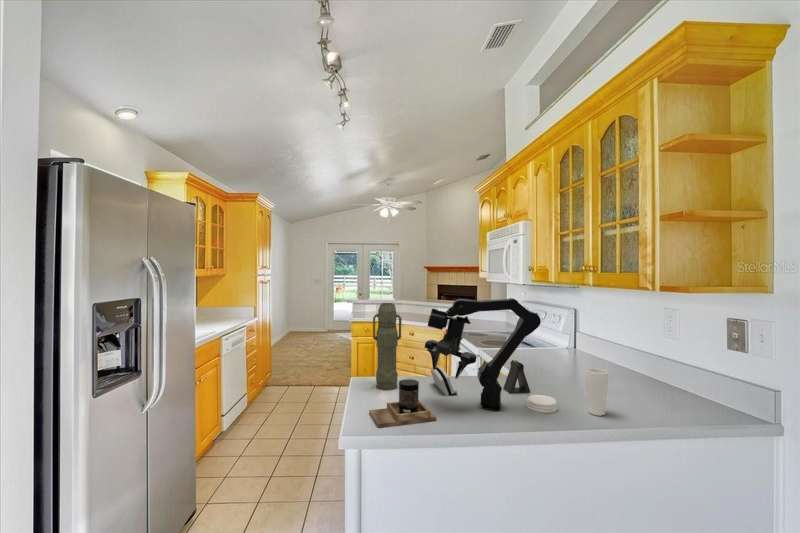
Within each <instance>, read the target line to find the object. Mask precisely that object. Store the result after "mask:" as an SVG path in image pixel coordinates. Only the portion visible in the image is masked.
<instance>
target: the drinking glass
mask: <svg viewBox="0 0 800 533" xmlns="http://www.w3.org/2000/svg"><path fill="white" fill-rule="evenodd" d="M585 376H586V391H587V392H586V393H587V394H586V395H587V410H588V413H589V414H590V415H594V416H597V417H599V416H600V417H601V416H602V415H603V416H605V415H606V406H607V397H608V396H607V395H608V386H609V372H608V371H607V370H606V369H604V368H603V369H602V368H597V367H594V368H593V367H589V368H587V369H586V375H585Z"/></svg>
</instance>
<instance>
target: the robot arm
mask: <svg viewBox="0 0 800 533" xmlns="http://www.w3.org/2000/svg"><path fill="white" fill-rule="evenodd" d="M509 310H510V311H512V312H513V313H514V314H515V315H516V316H517V317H518V319H517V321H516V325H515V328H514V330H512V333H511V334H510V336H509V337H508V338H507V340H505V342H504V343H503V345H502V346H501V347H500V349H499V350H498V351H497V353H495V355H494V356H493V358H492V359H491V360H490V361H488V362H487V361H486V360H484V361H483V362H482V364H481V366H479V367H478V368H477V370H478V371H477V375H476V376H477V379H478V381H479V384H480V385H481V387H483V388H482V390H481V393H480V405H481V406H480V408H481V409H484V410H493V411H498V412H499V411H500V410H501V408H502V406H503V405H502V391H503V390H502V389H503V387H502V386H501V384H500V382H499V381H498V379H499V377H500V374H501V370H502V368H503V367H504V365H506V362H508V360H509V359H510V358H511V356H512V355H513V354H514V353H515V351H516V350H517V349H518V347H519V346H520V345H521V343H522V342H523V340H525V338H526V337H528V336H529V335H531V334H533V333H534V332H535V331H536V330H537V329H538V328H539V327H540V325H541V323H542V321H541V317H540V316H539V315H538V314H537V313H535V312H533V311H532V310H528V309H527V308H526V307H525V306H523V305H522V304H521V303H520V302H519V301H518V300H517V299H515V298H512V297H509V298H502V299H487V300H486V299H485V300H473V299H468V298H457V299H455V300H454V301H453V303H452V305H451V306H450V307H449V308H448V309H447V310H446V311H443V310H439V309H436V308H431V311H430V315H429V317H428V322H427V327H428V328H433V329H438V330H441V331H442V330H443V329H446V328H447V329H446V332H445V333H444V335H443V338H442V339H441V340H439V341H437V340H434V339H431V340H426V342H425V343H424V349H427V352H429V354H430V356H431V362H432V369H433V370H435V369H436V367H438V366H437V365H438V361H439V358H440V354H441V355H443V356H445V357H448V356H449V355H451V356H454V357H458V358H459V359H460V360H459V361H458V366H457V369H456V373H455V379H458V378H459V376H460V375H461V374H462V373H463V371H464V370H465V368H466V367H467V366H469V365H473V364H476V363H477V362H476V361H477V356H476V354H474V353H472V352H469V351H465V352H462V351H461V347H460V346H461V342H462V341H463V338H464V336H463V333H464V330H465V324H468V325H470V324H472V323H471V321H470V320H469V317H468V315H472V314H475V313H479V312H492V311H494V312H495V311H509ZM463 316H465V317H463Z"/></svg>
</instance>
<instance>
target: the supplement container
mask: <svg viewBox="0 0 800 533" xmlns="http://www.w3.org/2000/svg"><path fill="white" fill-rule="evenodd" d="M419 388H420V383H419V381H418V380H416V379H409V378H407V379H406V378H405V379H401V380H399V381H398V402H399V413H400V414H404V413H413V412H418V402H419V401H420V399H419V395H420V394H419V393H420V391H419V390H420V389H419Z"/></svg>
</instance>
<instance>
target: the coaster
mask: <svg viewBox="0 0 800 533" xmlns="http://www.w3.org/2000/svg"><path fill="white" fill-rule="evenodd" d="M526 403H527V405H526V407H527V408H528V409H529V410H530V411H533V412H536V413H541V414H553V413H556V412H557V406H558V405H557V403H558V402H557V400H556V399H555V398H553V397H551V396H548V395H544V394H531V395H529V396H528V397H527V401H526Z"/></svg>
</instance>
